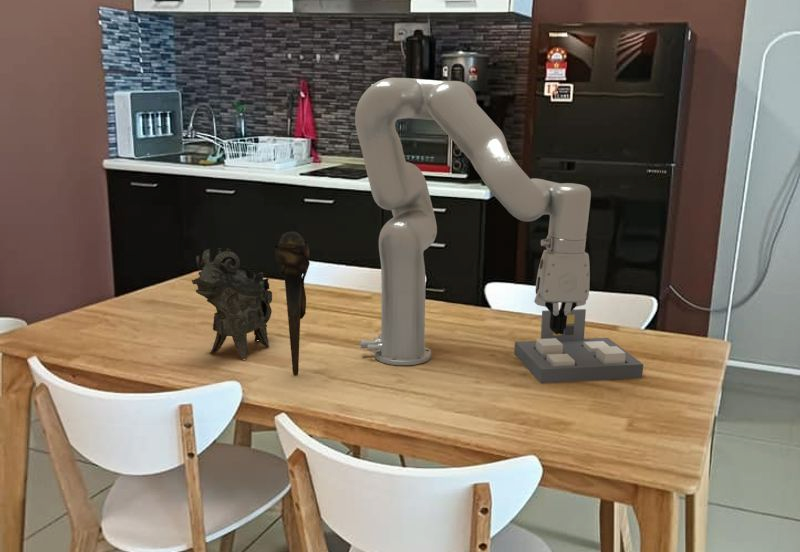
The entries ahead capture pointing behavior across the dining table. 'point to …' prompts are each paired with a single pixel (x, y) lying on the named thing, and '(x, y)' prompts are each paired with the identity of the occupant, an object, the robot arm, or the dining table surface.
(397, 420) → the dining table surface
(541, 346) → the button
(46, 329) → the dining table surface
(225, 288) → the vessel
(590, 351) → the button
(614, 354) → the button
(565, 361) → the button
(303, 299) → the decorative torch
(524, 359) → the board
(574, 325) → the card
